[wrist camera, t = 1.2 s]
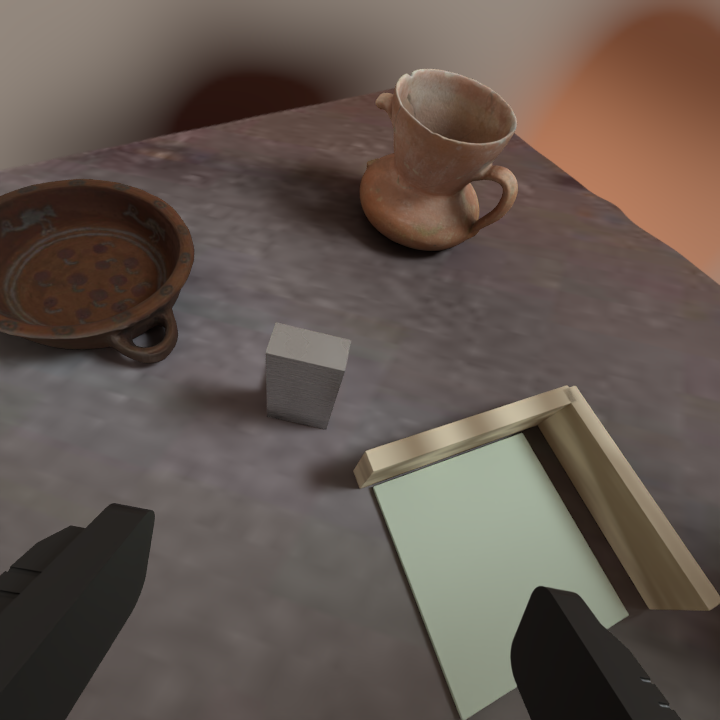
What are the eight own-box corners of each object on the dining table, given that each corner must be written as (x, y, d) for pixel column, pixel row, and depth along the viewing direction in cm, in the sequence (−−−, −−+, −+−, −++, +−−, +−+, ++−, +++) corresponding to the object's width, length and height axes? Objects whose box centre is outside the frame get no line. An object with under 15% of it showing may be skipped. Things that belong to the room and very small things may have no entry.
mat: (520, 434, 36) (522, 432, 36) (624, 614, 30) (629, 615, 30) (372, 487, 31) (373, 486, 31) (460, 719, 25) (463, 720, 24)
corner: (540, 407, 38) (573, 383, 34) (661, 601, 31) (723, 601, 27) (353, 470, 32) (365, 451, 27) (450, 737, 24) (488, 766, 20)
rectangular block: (326, 429, 33) (344, 371, 25) (267, 416, 33) (265, 352, 24) (338, 369, 36) (359, 299, 28) (285, 356, 36) (289, 282, 27)
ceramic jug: (322, 206, 47) (341, 76, 35) (393, 163, 55) (429, 43, 42) (441, 296, 44) (506, 186, 32) (500, 238, 51) (572, 130, 39)
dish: (110, 187, 43) (93, 142, 39) (255, 306, 38) (253, 270, 34) (-80, 264, 34) (-129, 217, 30) (79, 431, 30) (48, 402, 25)
